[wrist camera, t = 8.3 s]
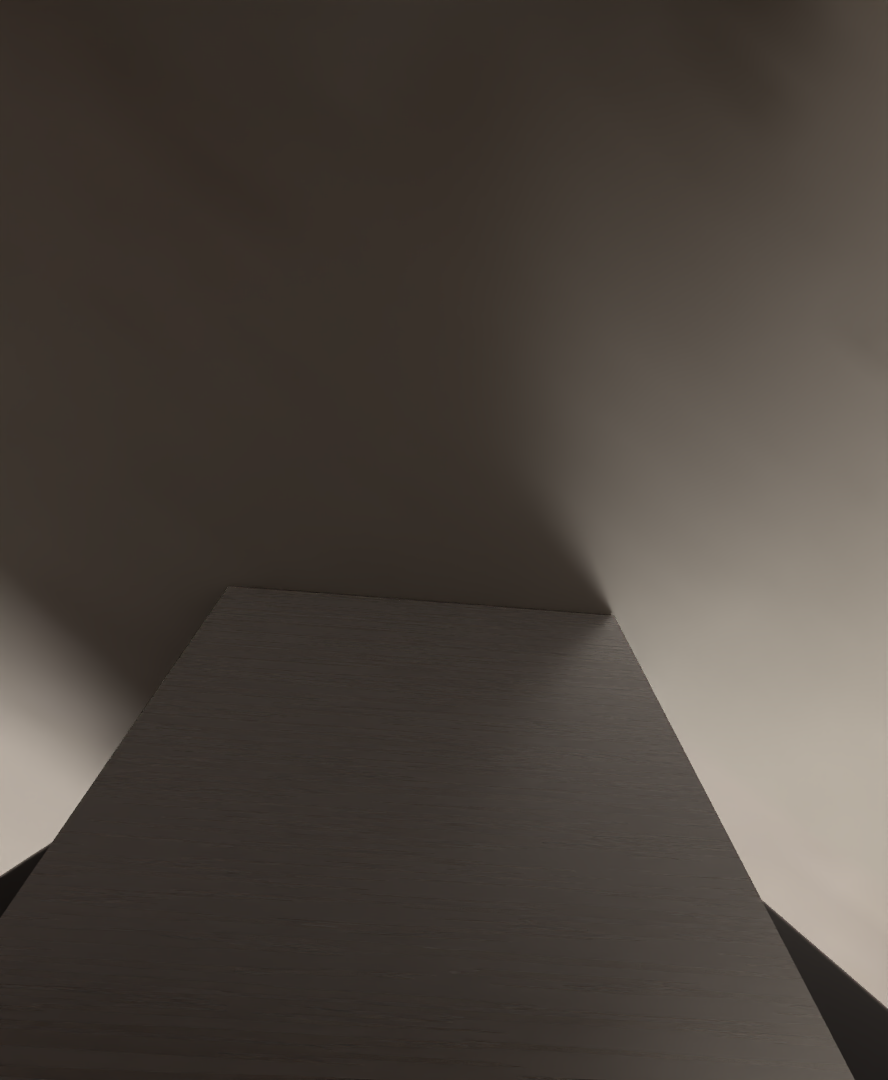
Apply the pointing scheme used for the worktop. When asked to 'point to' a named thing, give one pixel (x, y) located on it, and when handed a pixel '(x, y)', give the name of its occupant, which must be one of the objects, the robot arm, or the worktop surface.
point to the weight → (400, 870)
